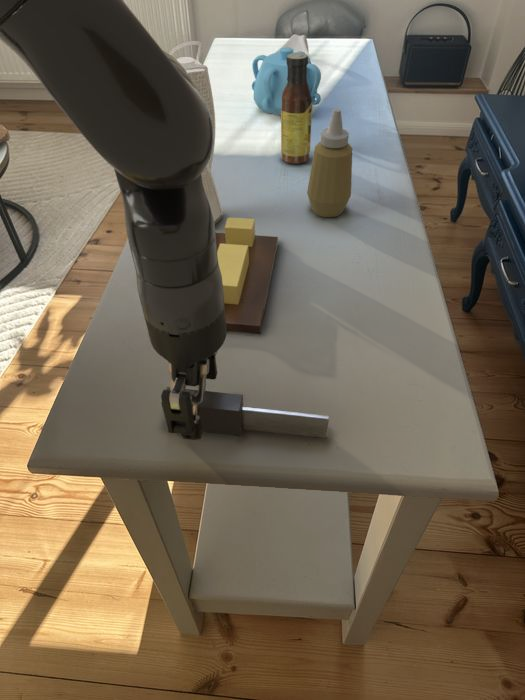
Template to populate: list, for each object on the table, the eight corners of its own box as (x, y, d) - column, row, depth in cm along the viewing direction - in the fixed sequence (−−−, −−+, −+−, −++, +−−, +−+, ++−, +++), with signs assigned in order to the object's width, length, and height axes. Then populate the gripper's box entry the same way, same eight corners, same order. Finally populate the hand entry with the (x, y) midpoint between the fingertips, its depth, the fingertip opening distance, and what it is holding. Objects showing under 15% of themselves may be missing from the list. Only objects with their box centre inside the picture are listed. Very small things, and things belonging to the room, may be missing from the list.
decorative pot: (322, 120, 119) (327, 58, 109) (257, 123, 117) (256, 61, 107) (310, 95, 130) (314, 37, 120) (251, 98, 128) (249, 39, 118)
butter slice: (226, 245, 81) (224, 227, 78) (229, 235, 83) (227, 217, 80) (252, 247, 80) (251, 229, 78) (255, 236, 82) (254, 218, 80)
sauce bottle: (313, 163, 103) (320, 59, 89) (285, 167, 102) (288, 63, 88) (303, 150, 108) (308, 49, 93) (276, 154, 107) (277, 52, 92)
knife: (167, 427, 58) (161, 403, 54) (173, 411, 60) (166, 386, 56) (325, 445, 56) (329, 421, 53) (326, 428, 58) (330, 403, 54)
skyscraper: (195, 204, 93) (173, 36, 72) (231, 213, 90) (220, 42, 70) (170, 226, 88) (140, 52, 67) (208, 237, 85) (189, 60, 65)
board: (178, 326, 70) (176, 318, 69) (210, 239, 85) (209, 231, 84) (260, 333, 69) (259, 326, 68) (277, 243, 84) (278, 236, 82)
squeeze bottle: (343, 224, 87) (357, 123, 74) (300, 217, 89) (306, 116, 76) (353, 202, 92) (366, 103, 79) (312, 195, 94) (319, 98, 81)
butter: (208, 302, 71) (206, 283, 69) (221, 261, 78) (220, 243, 75) (238, 304, 71) (237, 286, 68) (249, 263, 77) (248, 245, 75)
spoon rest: (305, 83, 136) (306, 54, 130) (264, 80, 138) (264, 52, 132) (318, 56, 151) (320, 30, 146) (282, 54, 153) (282, 28, 148)
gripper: (164, 252, 50) (184, 357, 62) (118, 354, 40) (152, 454, 52) (236, 258, 49) (242, 362, 61) (207, 363, 39) (220, 462, 51)
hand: (200, 405), depth 56 cm, fingers open, 8 cm apart
